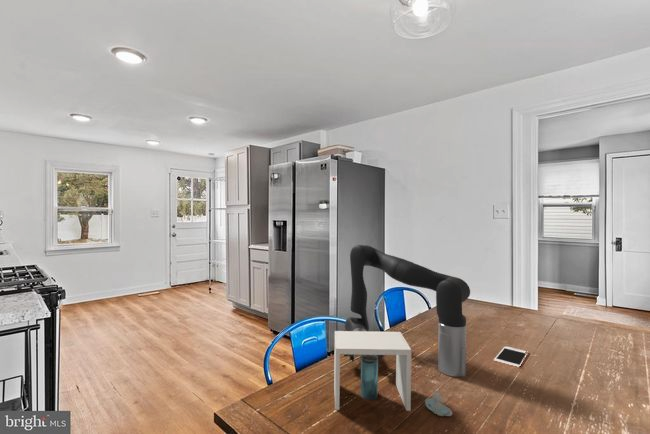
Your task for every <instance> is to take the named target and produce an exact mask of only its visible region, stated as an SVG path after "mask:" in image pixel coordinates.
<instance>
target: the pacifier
mask: <svg viewBox="0 0 650 434" xmlns="http://www.w3.org/2000/svg"><path fill="white" fill-rule="evenodd" d="M424 403H425V406H426V408H427V409H428V410H429V411H431V412H432V413H433V414H435V415H436V414H437V416H440V417H444V416H445V417H451V416H452V415H453V411H452V410H451V409H450V408H449V407H447V406H446V405H445V404H442V403H443V397H442V395H441V393H440V392H439V391H437V390H434V391H433V392H432V398H431V397H430V398H428V397H427V398H426V399H425V400H424Z"/></svg>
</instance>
